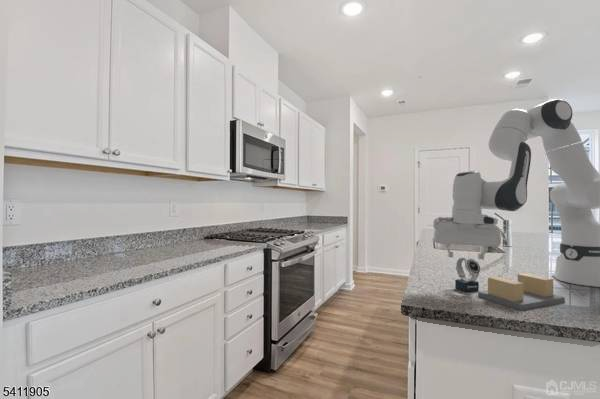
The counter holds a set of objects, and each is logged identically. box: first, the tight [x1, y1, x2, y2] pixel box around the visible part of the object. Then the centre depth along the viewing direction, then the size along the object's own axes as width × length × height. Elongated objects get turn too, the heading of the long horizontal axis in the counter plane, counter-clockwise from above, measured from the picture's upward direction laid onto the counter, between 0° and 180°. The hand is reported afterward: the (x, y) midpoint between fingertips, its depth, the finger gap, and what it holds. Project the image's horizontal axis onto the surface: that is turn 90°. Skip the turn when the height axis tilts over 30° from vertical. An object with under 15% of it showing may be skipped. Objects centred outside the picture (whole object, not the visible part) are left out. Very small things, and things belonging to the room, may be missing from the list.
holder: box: [477, 272, 566, 311], centre depth 93 cm, size 20×13×6 cm, turn 111°
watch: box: [454, 256, 481, 293], centre depth 102 cm, size 6×8×11 cm
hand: (465, 258), depth 103 cm, fingers open, 8 cm apart
